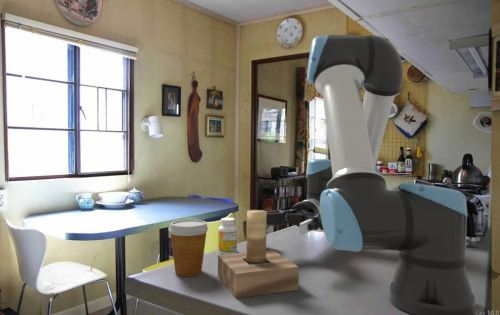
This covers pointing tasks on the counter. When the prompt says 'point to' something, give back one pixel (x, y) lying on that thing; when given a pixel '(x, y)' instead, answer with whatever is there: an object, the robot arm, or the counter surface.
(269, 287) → the seat block
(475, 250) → the counter surface
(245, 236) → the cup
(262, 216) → the leg
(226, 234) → the supplement bottle
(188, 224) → the disposable coffee cup
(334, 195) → the robot arm
